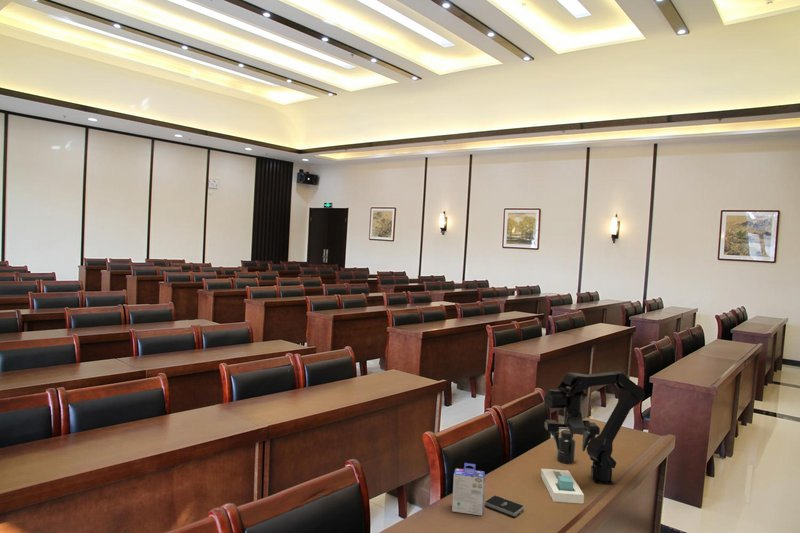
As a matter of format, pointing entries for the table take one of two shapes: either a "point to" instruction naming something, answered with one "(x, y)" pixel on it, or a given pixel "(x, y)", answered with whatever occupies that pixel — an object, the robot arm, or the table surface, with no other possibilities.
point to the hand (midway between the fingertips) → (570, 450)
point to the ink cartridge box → (468, 490)
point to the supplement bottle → (566, 448)
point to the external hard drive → (504, 506)
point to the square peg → (565, 483)
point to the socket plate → (558, 495)
